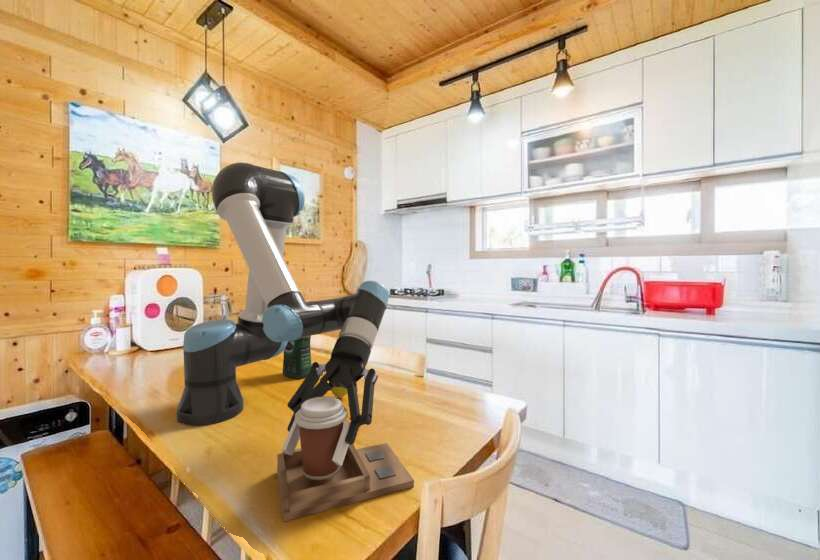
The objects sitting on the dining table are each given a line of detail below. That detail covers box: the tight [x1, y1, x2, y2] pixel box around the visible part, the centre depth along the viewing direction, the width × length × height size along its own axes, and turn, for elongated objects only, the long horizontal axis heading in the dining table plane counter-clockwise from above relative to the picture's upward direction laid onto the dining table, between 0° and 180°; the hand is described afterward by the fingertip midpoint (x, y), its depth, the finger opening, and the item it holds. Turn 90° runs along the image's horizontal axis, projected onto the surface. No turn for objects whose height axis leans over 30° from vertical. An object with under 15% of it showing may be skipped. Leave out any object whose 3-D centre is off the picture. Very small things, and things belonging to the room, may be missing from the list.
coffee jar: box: [282, 335, 313, 379], centre depth 123 cm, size 10×8×19 cm
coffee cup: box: [295, 395, 349, 480], centre depth 63 cm, size 9×9×12 cm
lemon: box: [330, 387, 348, 399], centre depth 103 cm, size 6×6×8 cm
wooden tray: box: [276, 442, 415, 523], centre depth 65 cm, size 22×14×4 cm, turn 114°
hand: (311, 457), depth 60 cm, fingers closed on coffee cup, 9 cm apart
